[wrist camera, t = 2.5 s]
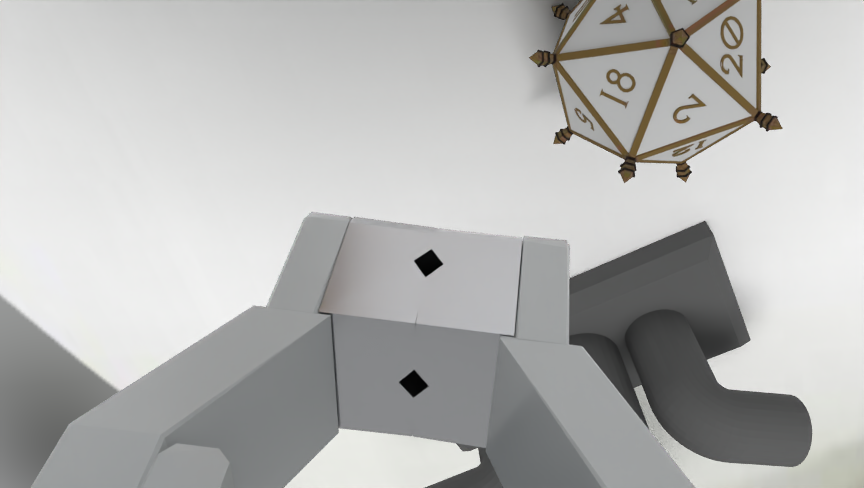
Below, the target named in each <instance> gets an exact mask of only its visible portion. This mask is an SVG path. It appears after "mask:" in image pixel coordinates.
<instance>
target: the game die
mask: <svg viewBox="0 0 864 488" xmlns="http://www.w3.org/2000/svg"><path fill="white" fill-rule="evenodd" d="M552 9H553V12H554V16H555V17H558V18H559V19H562V20H565V19H566V22H565V24H564V27H563V29H562V32H561V34H560V37H559V39H558V42H557V45H556V47H555V50H554V52H553V54H550V52H548V51H544V52H543V51H540V50H538V51H537V53H535V54H534V55H532V56H531V57H529V58H530V59H531V60H532V61H533V62H535V63H536V64H537V66H538V67H540V66H542V65H544V67H546V66H547V65H549V64H552V65H553V69H554V73H555V77H556V81H557V85H558V89H559V93H560V97H561V101H562V105H563V109H564V113H565V117H566V121H567V125H568V126H567V128H565V129H560V131H559V132H556V133H555V134H556V136H555V140H554V143H553V144H561V143H563V144H565V142H566V141H567V140H568V141H569V140H570V136H571V135H572V134H575V135H577V136H579V137H581V138H583V139H585V140H587V141H589V142H591V143H593V144H595V145H597V146H599V147H601V148H603V149H605V150H607V151H609V152H611V153H613V154H615V155H617V156H619V157H621V158H623V159H625V162H624V163H623V164H621V165H620V167H621V170H619V171H618V173H620V174H621V176H622V179H623V181H624V183H625V182H627V181H628V180H629V179H631V178H632V177H635V172H634V171H636V164H635V162H643V163H676V164H677V166H676V172H677V177H679V178H681V179H682V180H683V181H684V182H686V181H687V179H688V177H689V175H690V174H691V173H692V171H690V170H689V168H690V166H689V165H687V163H686V161H687V160H689V159H690V158H692V157H694V156H695V155H697V154H699V153H700V152H702V151H704V150H706V149H707V148H709V147H711V146H712V145H714V144H716V143H717V142H719V141H721V140H722V139H724V138H726V137H728V136H729V135H731V134H733V133H734V132H736V131H738V130H739V129H741V128H743V127H744V126H746V125H748V124H750V123H751V122H753V121H757V122H758V123H759V125H760V128H762V127H764V128H765V129H766V131H769V130H776V129H782V127H781V125H780V123H779V121H778V119H777V118H778V117H777V116H771V114H770V113H766V114H765V113H762V112H761V73H763V74H764V73H765V71H766V70H767V69H769V68H770V67H771V66H770V65H769V64H768V63H767V62H766V60H765V58H763V59H761V0H580V1H579V3H578V4H577V5H576V6H575V7H574V8H573V9H572V11H570V10H569V9H568V6H566V7H565V6H564V4H563V3H562V4H561V5H558V6H553V7H552Z"/></svg>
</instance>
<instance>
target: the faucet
mask: <svg viewBox="0 0 864 488" xmlns="http://www.w3.org/2000/svg"><path fill="white" fill-rule="evenodd" d="M749 341H750V337H749V334H748V331H747V329H746V326H745V323H744V320H743V317H742V314H741V312H740V309H739V306H738V303H737V300H736V297H735V295H734V292H733V289H732V286H731V283H730V280H729V278H728V275H727V272H726V269H725V266H724V264H723V261H722V258H721V255H720V252H719V249H718V247H717V244H716V241H715V238H714V235H713V233H712V232H711V230H710V228H709V227H708V225H707V223H706V222H705V221H704V222H702V223H699V224H697V225H695V226H692V227H690V228H687V229H685V230H683V231H680V232H678V233H676V234H673V235H671V236H669V237H666V238H664V239H662V240H659V241H657V242H655V243H652V244H650V245H647V246H645V247H643V248H640V249H638V250H636V251H633V252H631V253H629V254H626V255H624V256H622V257H619V258H617V259H615V260H612V261H610V262H607V263H605V264H603V265H600V266H598V267H596V268H593V269H591V270H589V271H586V272H584V273H582V274H579V275H577V276H575V277H572V278H570V279H569V345H576V346H582V347H583V348H584V349H585V350H586V351H587V353H588V354H589V355H590V356H591V358H592V359H593V360H594V361H595V363H596V364H597V365H598V366H599V368H600V369H601V370H602V371H603V373H604V374H605V375H606V376H607V378H608V379H609V380H610V381H611V383H612V384H613V385H614V386H615V388H616V389H617V390H618V391H619V393H620V394H621V395H622V397H623V398H624V399H625V400H626V402H627V403H628V404H629V405H630V407H631V408H632V409H633V410H634V412H635V413H636V414H637V415H638V417H639V418H640V419H641V420H642V422H643V423H644V424H645V425H646V427H647V428H648V425H647V423H646V420H645V417H644V415H643V412H642V409H641V407H640V404H639V401H638V399H637V396H636V394H635V391H634V387H637V386H640V385H642V386H643V389H644V391H645V394H646V396H647V399H648V402H649V404H650V406H651V409H652V411H653V413H654V415H655V416H656V418H657V420H658V421H659V423H660V424H661V425H662V427H663V428H664V429H665V430H666V431H667V432H668V434H670V435H671V436H672V437H673V438H674V439H675V440H676V441H678V442H679V443H680V444H681V445H683V446H684V447H686V448H687V449H689V450H691V451H693V452H695V453H696V454H699V455H701V456H703V457H706V458H709V459H712V460H716V461H721V462H728V463H741V464H756V465H771V466H786V467H794V466H797V465H799V464H801V463H802V462H803V461H804V459H805V458H806V456H807V455H808V452H809V450H810V446H811V442H812V425H811V420H810V416H809V413H808V411H807V409H806V407H805V406H804V404H803V403H802V402H801V401H800V400H799V399H798V398H797V397H795V396H792V395H786V394H774V393H763V392H751V391H739V390H729V389H726V388H724V387H722V386H721V385H720V384H719V383H718V382H717V380H716V378H715V376H714V374H713V372H712V370H711V368H710V366H709V364H708V362H707V359H710V358H712V357H715V356H717V355H720V354H723V353H725V352H728V351H730V350H733V349H736V348H738V347H741V346H742V345H744V344H745V343H747V342H749ZM648 429H649V428H648ZM456 444H457V445H458V446H459V447H460V449H461V450H462V451H471V450H473V449H476V448H478V450H479V456H480V462H481V464H480V465H479V466H478V467H476V468H474V469H471V470H468V471H466V472H463V473H461V474H458V475H456V476H453V477H451V478H448V479H446V480H443V481H441V482H438V483H436V484H433V485H430V486H428V487H425V488H503V486H502V484H501V482H500V480H499V478H498V476H497V474H496V472H495V469H494V467H493V465H492V463H491V461H490V459H489V457H488V455H487V453H486V448H482V447H476V446H470V445H464V444H458V443H456Z"/></svg>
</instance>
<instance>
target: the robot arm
mask: <svg viewBox="0 0 864 488" xmlns="http://www.w3.org/2000/svg"><path fill="white" fill-rule="evenodd" d="M569 263H570V246H569V244H568V242H567V240H558V239H546V238H535V237H524V238H523V241H522V237H513V236H503V235H494V234H485V233H476V232H466V231H457V230H448V229H438V228H433V227H426V226H418V225H411V224H404V223H396V222H389V221H381V220H374V219H367V218H359V217H354V218H351V217H348V216H340V215H332V214H324V213H317V212H311V213H310V214H309V215H308V216H307V217H305V218H304V220H303V222H302V224H301V227H300V229H299V231H298V234H297V236H296V238H295V241H294V243H293V245H292V248H291V250H290V252H289V255H288V257H287V259H286V262H285V264H284V266H283V269H282V271H281V274H280V276H279V278H278V281H277V283H276V285H275V288H274V290H273V292H272V295H271V297H270V299H269V302H268V304H267V306H266V307H261V306H252V307H251V308H249V309H247V310H246V311H244V312H243V313H241V314H240V315H238V316H237V317H235V318H233V319H232V320H230V321H229V322H227V323H226V324H224V325H223V326H221V327H219V328H218V329H216V330H215V331H213V332H212V333H210V334H208V335H207V336H205V337H204V338H202V339H201V340H199V341H198V342H196V343H194V344H193V345H191V346H190V347H188V348H187V349H185V350H184V351H182V352H180V353H179V354H177V355H176V356H174V357H173V358H171V359H169V360H168V361H166V362H165V363H163V364H162V365H160V366H159V367H157V368H155V369H154V370H152V371H151V372H149V373H148V374H146V375H145V376H143V377H141V378H140V379H138V380H137V381H135V382H134V383H132V384H130V385H129V386H127V387H126V388H124V389H123V390H121V391H120V392H118V393H116V394H115V395H113V396H112V397H110V398H109V399H107V400H106V401H104V402H102V403H101V404H99V405H98V406H96V407H95V408H93V409H92V410H90V411H88V412H87V413H85V414H84V415H82V416H81V417H79V418H78V419H76V420H74V421H73V422H71V423H70V424H69V425H68V427H67V428H66V430H65V432H64V433H63V435H62V436H61V438H60V440H59V441H58V443H57V445H56V447H55V448H54V450H53V452H52V453H51V455H50V457H49V458H48V460H47V461H46V463H45V465H44V466H43V468H42V470H41V471H40V473H39V475H38V476H37V478H36V480H35V481H34V483H33V485H32V486H31V488H284V487H285V486H286V485H287V484H288V483H289V482H290V481H291V480H292V479H293V478H294V477H295V476H296V475H297V474H298V473H299V472H300V471H301V470H302V469H303V468H304V467H305V466H306V465H307V464H308V463H309V462H310V461H311V460H312V459H313V458H314V457H315V456H316V455H317V454H318V453H319V452H320V451H321V450H322V449H323V448H324V447H325V446H326V445H327V444H328V443H329V442H330V441H331V440H332V439H333V438H334V437H335V436H336V435H337V434H338V433H339V430H338V428H342V429H351V430H361V431H370V432H379V433H388V434H397V435H407V436H412V435H413V436H414V437H421V438H427V439H433V440H439V441H445V442H451V443H458V444H464V445H470V446H476V447H482V448H486V453H487V455H488V457H489V459H490V461H491V463H492V465H493V467H494V469H495V472H496V474H497V476H498V478H499V480H500V482H501V484H502V486H503V488H695V487H694V485H693V484H692V483H691V482H690V480H689V479H688V478H687V477H686V475H685V474H684V473H683V472H682V470H681V469H680V468H679V467H678V465H677V464H676V463H675V462H674V460H673V459H672V458H671V457H670V455H669V454H668V453H667V452H666V450H665V449H664V448H663V447H662V445H661V444H660V443H659V442H658V440H657V439H656V438H655V437H654V435H653V434H652V433H651V432H650V430H649V429H648V428H647V427H646V425H645V424H644V423H643V422H642V420H641V419H640V418H639V417H638V415H637V414H636V413H635V412H634V410H633V409H632V408H631V407H630V405H629V404H628V403H627V402H626V400H625V399H624V398H623V397H622V395H621V394H620V393H619V391H618V390H617V389H616V388H615V386H614V385H613V384H612V383H611V381H610V380H609V379H608V378H607V376H606V375H605V374H604V373H603V371H602V370H601V369H600V368H599V366H598V365H597V364H596V363H595V361H594V360H593V359H592V358H591V356H590V355H589V354H588V353H587V351H586V350H585V349H584V348H583V347H582V346H576V345H569Z"/></svg>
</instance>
